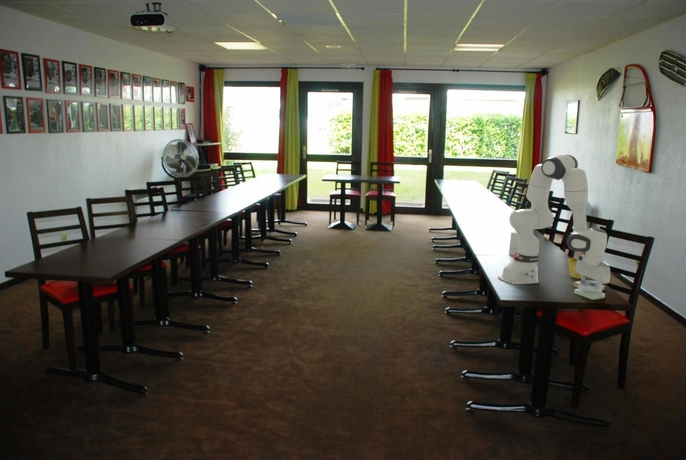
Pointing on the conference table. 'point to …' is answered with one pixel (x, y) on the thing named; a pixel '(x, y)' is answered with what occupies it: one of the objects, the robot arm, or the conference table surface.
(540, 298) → the conference table surface
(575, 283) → the stand
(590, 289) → the housing
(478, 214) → the conference table surface
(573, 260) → the plant pot
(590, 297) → the stand
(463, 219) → the conference table surface
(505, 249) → the conference table surface
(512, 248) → the supplement box
